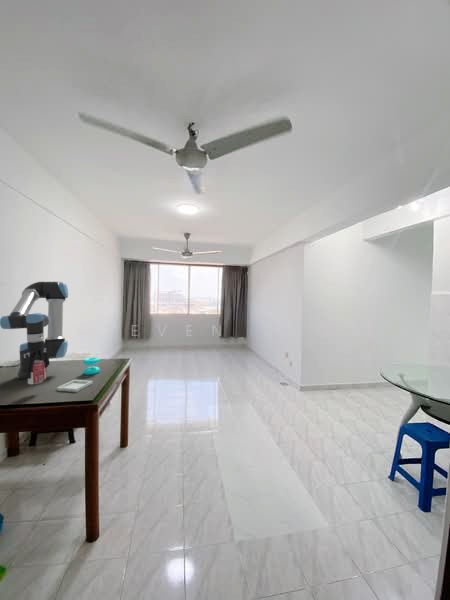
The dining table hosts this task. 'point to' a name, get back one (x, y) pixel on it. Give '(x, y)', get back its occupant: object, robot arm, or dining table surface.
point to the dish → (74, 385)
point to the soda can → (38, 371)
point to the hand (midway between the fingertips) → (37, 381)
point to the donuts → (90, 362)
